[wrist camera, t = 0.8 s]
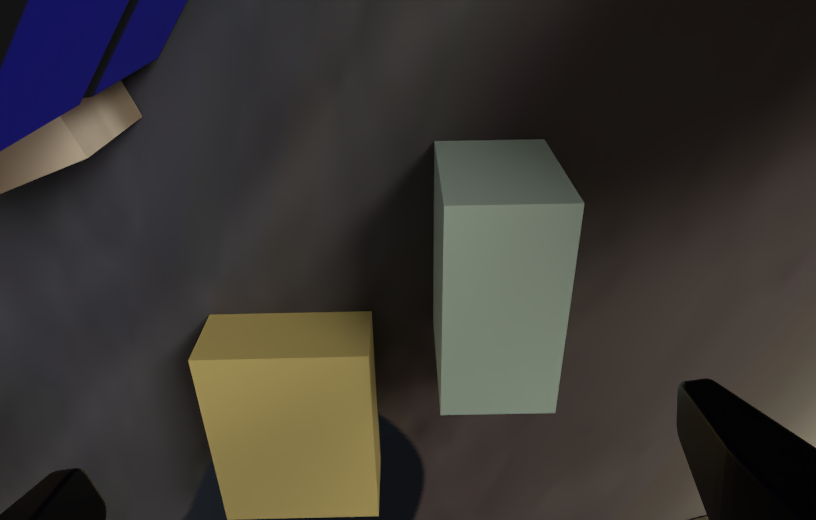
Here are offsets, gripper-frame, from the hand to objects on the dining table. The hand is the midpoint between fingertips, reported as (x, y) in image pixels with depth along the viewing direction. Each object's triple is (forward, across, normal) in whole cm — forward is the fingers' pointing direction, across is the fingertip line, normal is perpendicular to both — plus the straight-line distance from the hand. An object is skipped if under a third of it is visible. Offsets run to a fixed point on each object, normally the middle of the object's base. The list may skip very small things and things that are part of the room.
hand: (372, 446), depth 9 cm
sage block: (+12, -2, +4) cm, 13 cm away
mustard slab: (+12, +6, +9) cm, 17 cm away
